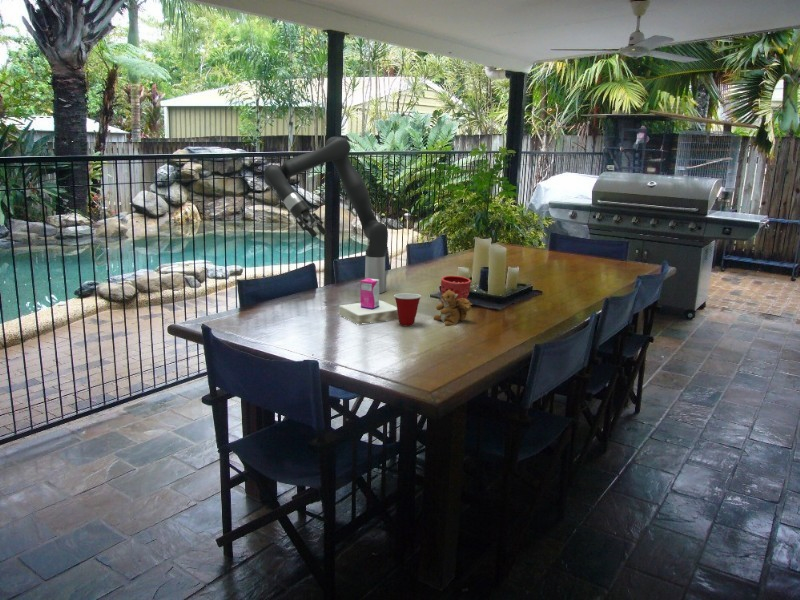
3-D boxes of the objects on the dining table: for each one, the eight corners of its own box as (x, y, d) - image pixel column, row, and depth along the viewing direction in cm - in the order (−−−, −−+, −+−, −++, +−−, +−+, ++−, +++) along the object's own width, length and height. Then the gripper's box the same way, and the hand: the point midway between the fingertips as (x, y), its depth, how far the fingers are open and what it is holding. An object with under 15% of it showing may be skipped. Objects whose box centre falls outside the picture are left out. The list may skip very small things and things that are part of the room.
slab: (380, 309, 281) (380, 300, 280) (400, 318, 268) (401, 309, 267) (338, 314, 270) (339, 305, 269) (358, 325, 257) (358, 315, 256)
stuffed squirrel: (431, 319, 269) (433, 288, 265) (462, 317, 274) (464, 286, 270) (441, 326, 260) (443, 294, 256) (473, 323, 265) (475, 292, 261)
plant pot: (436, 306, 288) (438, 280, 285) (443, 299, 300) (445, 274, 297) (465, 310, 285) (467, 283, 282) (471, 303, 297) (473, 277, 294)
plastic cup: (413, 319, 268) (415, 290, 265) (424, 326, 258) (425, 297, 255) (388, 321, 264) (389, 292, 261) (398, 328, 254) (399, 298, 251)
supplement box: (367, 304, 272) (367, 277, 269) (379, 306, 269) (380, 279, 266) (359, 307, 267) (360, 280, 264) (372, 309, 264) (372, 282, 261)
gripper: (293, 201, 269) (317, 231, 267) (310, 198, 281) (333, 227, 280) (282, 213, 272) (306, 243, 271) (299, 209, 285) (322, 238, 283)
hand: (320, 234), depth 275 cm, fingers open, 8 cm apart
